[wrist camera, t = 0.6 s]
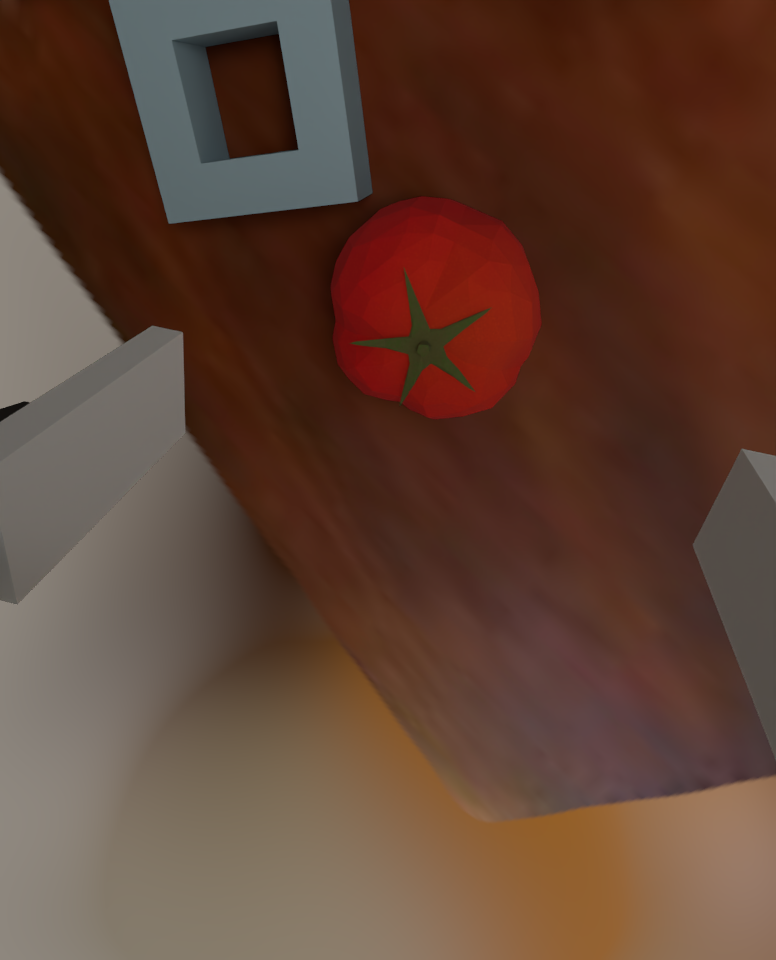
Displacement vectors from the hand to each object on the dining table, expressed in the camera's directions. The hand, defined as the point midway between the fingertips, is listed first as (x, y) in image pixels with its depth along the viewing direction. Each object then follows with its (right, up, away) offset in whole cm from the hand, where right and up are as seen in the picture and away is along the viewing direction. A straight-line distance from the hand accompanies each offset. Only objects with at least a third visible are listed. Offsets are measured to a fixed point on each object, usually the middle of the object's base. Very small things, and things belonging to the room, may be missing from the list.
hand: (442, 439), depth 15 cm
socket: (-8, +20, +21) cm, 30 cm away
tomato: (+2, +11, +24) cm, 27 cm away
